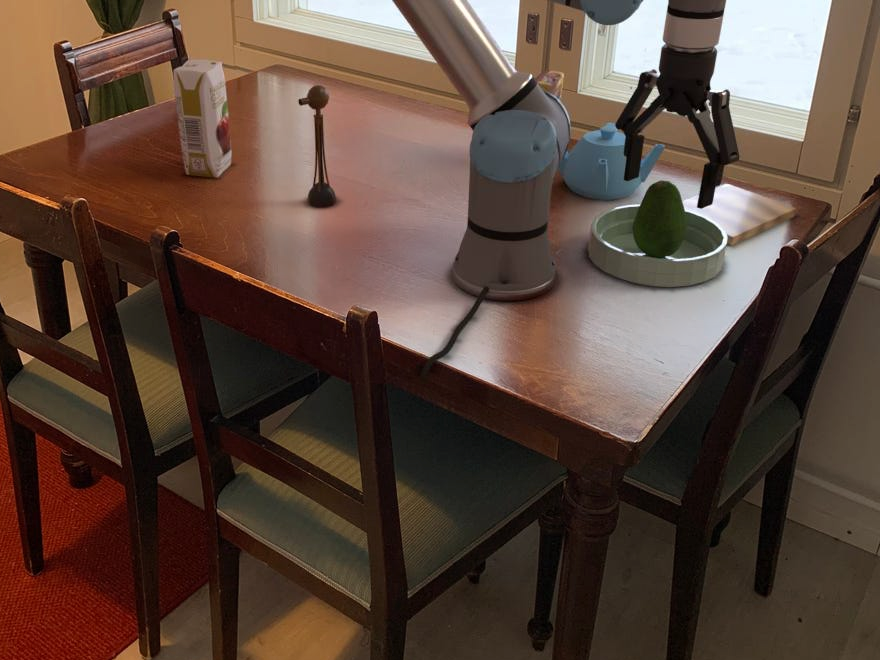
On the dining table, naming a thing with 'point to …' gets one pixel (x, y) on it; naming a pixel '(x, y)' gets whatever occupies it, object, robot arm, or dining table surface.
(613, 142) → the teapot
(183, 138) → the juice carton
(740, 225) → the board
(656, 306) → the dining table surface
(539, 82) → the candy box
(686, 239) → the bowl
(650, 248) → the avocado
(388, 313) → the dining table surface
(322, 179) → the wooden tabletop sculpture
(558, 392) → the dining table surface
